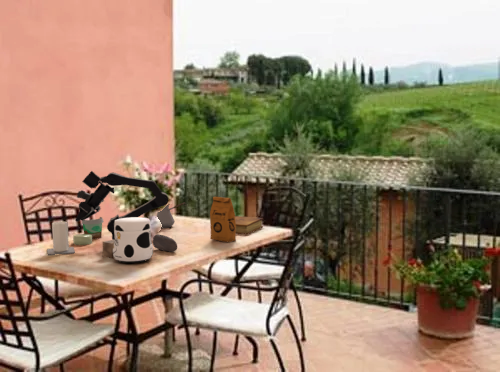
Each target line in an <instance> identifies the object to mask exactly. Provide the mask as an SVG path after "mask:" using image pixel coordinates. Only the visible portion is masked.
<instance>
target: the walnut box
mask: <svg viewBox="0 0 500 372" xmlns="http://www.w3.org/2000/svg"><path fill="white" fill-rule="evenodd" d="M114 241H115V240H112V239H109V240H104V241H102V257H103V258H105V259H110V260H113V259H114V256H113V246H114Z"/></svg>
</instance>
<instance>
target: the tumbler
mask: <svg viewBox="0 0 500 372" xmlns="http://www.w3.org/2000/svg"><path fill="white" fill-rule="evenodd" d="M51 228H52V229H51V230H52V247H53V249H54V251H55V252H64V251H68V248H69V247H70V245H69V243H70V242H69V224H68V222H67V221H56V222H52V223H51Z"/></svg>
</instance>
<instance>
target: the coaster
mask: <svg viewBox="0 0 500 372" xmlns="http://www.w3.org/2000/svg"><path fill="white" fill-rule="evenodd" d="M46 251H47V256H56V255H55V254H62V255H73V254H74V253H75V254H76V250H75V247H74V246H69V248H68V251H64V252H55V251H54V249H53V248H47V250H46Z"/></svg>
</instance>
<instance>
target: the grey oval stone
mask: <svg viewBox="0 0 500 372" xmlns="http://www.w3.org/2000/svg"><path fill="white" fill-rule="evenodd" d="M152 245H153V248H155V249H158V250H159V251H165V252H170V253H171V252H172V253H173V252H176V251H177V249H178V244H177V242H176V240H175V239H173V238H171V237H169V236H167V235H164V234H155V235H153V237H152Z"/></svg>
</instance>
